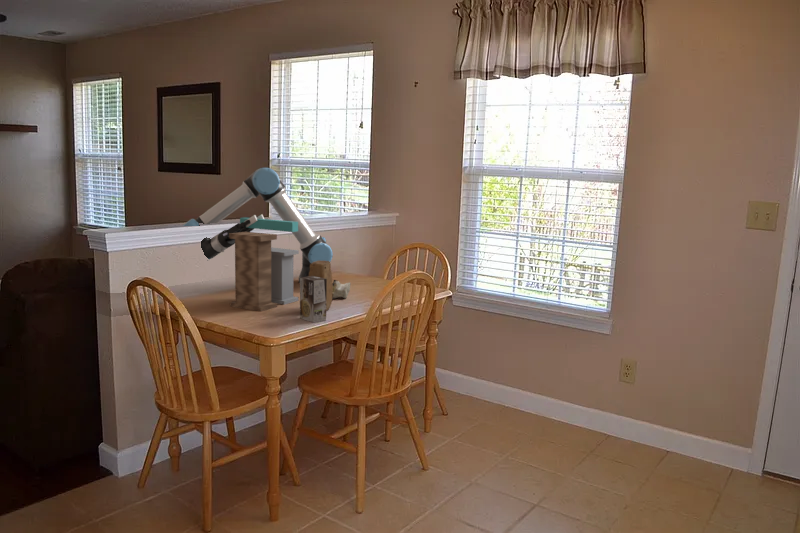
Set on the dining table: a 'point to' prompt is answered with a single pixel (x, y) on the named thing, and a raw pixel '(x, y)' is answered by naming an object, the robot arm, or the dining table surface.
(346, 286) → the ceramic sculpture
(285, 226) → the bar
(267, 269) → the tall stand
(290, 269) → the low stand
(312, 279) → the coffee box
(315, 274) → the brown bread chunk
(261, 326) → the dining table surface
